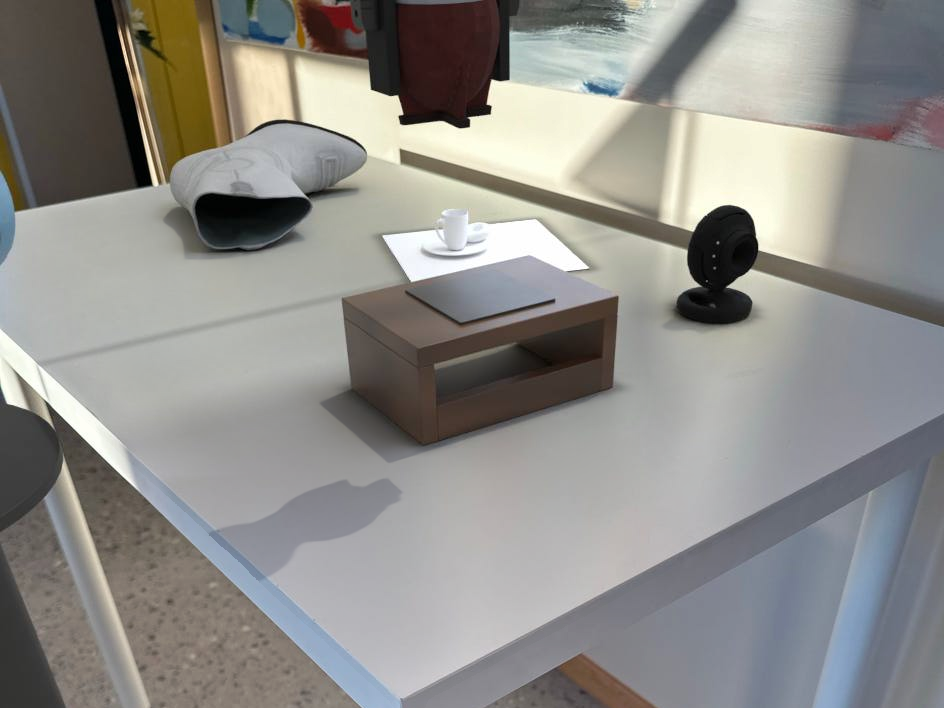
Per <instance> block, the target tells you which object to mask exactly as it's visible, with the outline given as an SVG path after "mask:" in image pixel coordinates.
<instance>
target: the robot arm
mask: <svg viewBox="0 0 944 708" xmlns="http://www.w3.org/2000/svg"><path fill="white" fill-rule="evenodd" d="M496 1H497V6H498V10H499V20H500V34H499V44H498V49H497V53H496V58H495V61H494V68H493V74H492V80H493V81H495V82H508V81H510V80H511V68H510V67H511V65H510V64H511V60H510V59H511V57H510V56H511V55H510V54H511V51H510V49H511V47H510V46H511V45H510V44H511V41H510V38H511V37H510V33H511V32H510V28H511V27H510V22H511V21H510V17H515V16H518V13H519V8H520V0H496ZM349 2H350V3H349V4H350V14H351V15H350V16H351V21H352V23H353V25H354V28H355V30H359V31H362V32H365V35H366V37H365V39H366V50H367V61H368V71H369V73H368V74H369V84H370V85H369V86H370V91H373V92H376V93H379V94H382V95H385V96H388V97H398V95H401V83H400V68H399V53H398V37H397V22H396V7H395V0H349ZM492 80H491V81H492ZM15 211H16V210H15V205H14V200H13V197H12V194H11V191H10V188H9V186H8V183H7V181H6V178H5V177H4V174H3V173H2V171H1V170H0V267H1V266H2V264H3V263H4V262H5V261H6V259H7V257H8V255H9V254H10V252H11V249H12V247H13V245H14V241H15V236H16V212H15Z"/></svg>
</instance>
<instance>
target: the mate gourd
mask: <svg viewBox="0 0 944 708" xmlns="http://www.w3.org/2000/svg"><path fill="white" fill-rule="evenodd" d="M395 7H396V22H397V37H398V53H399V68H400V83H401V95H397V98H398V101H399V103H400V107H401V110H402V114H399V115H398V116H397V117H398V121H399V125H401V126H412V125H419V124H428V123H436V122H437V123H438V122H444V123H446V124H448V125H450V126H452V127H455V128H457V129H460V130H461V129H468V128H471V119H470V118H474V117H475V118H476V117H484V116H490V115H492V108H493V106H492V105H491V104H488V99H489V94H490V90H491V89H490V88H491V83H492V74H493V68H494V61H495V58H496V53H497V49H498V44H499V34H500V20H499V10H498V6H497V1H496V0H395Z"/></svg>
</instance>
